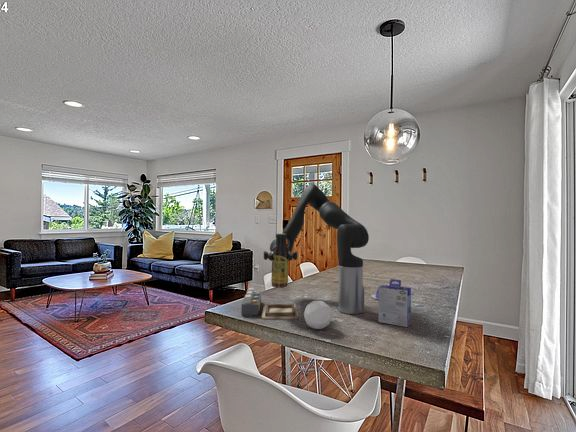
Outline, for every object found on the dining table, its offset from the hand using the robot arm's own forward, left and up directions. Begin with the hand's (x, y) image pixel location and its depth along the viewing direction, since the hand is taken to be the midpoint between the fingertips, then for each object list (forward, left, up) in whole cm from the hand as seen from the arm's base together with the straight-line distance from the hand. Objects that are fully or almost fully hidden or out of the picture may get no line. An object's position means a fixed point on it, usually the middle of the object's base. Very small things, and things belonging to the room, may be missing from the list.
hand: (280, 258), depth 116 cm
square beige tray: (0, -2, -21) cm, 21 cm away
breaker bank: (+11, -8, -21) cm, 25 cm away
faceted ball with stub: (-13, +13, -21) cm, 28 cm away
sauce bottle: (0, -2, -11) cm, 11 cm away
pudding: (-47, -25, -21) cm, 57 cm away
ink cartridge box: (-39, +9, -21) cm, 45 cm away
